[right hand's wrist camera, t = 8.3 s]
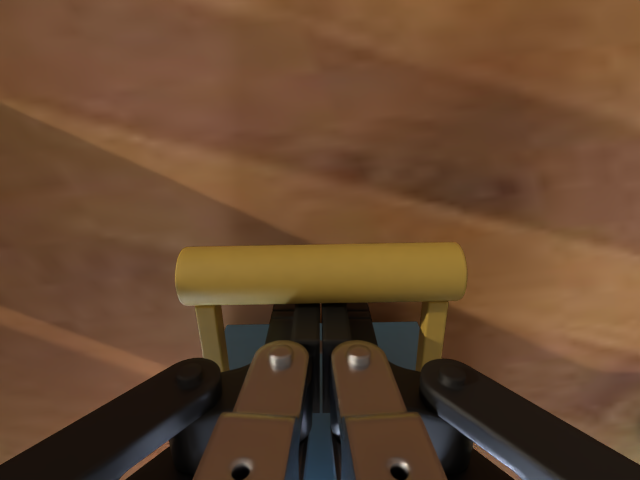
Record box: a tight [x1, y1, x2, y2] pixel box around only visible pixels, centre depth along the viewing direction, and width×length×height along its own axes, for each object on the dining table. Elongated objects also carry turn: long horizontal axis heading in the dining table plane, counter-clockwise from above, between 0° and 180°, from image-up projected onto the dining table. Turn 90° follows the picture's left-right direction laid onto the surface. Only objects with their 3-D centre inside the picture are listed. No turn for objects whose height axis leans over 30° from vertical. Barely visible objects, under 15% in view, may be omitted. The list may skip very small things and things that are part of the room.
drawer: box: [175, 242, 473, 480], centre depth 15 cm, size 22×9×8 cm, turn 1°
